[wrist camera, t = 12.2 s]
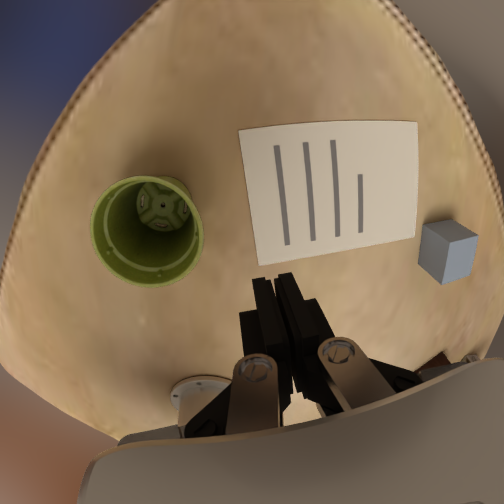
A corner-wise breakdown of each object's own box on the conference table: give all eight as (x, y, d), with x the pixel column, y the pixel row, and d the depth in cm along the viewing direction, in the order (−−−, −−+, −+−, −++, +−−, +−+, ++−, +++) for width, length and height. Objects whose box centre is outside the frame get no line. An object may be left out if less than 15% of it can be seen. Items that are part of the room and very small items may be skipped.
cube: (445, 255, 35) (470, 275, 30) (417, 263, 35) (441, 285, 30) (451, 219, 33) (478, 235, 27) (422, 224, 33) (449, 242, 27)
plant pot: (202, 250, 31) (197, 295, 23) (121, 240, 29) (93, 280, 22) (214, 166, 27) (211, 183, 19) (125, 157, 26) (89, 171, 18)
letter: (413, 236, 33) (414, 237, 33) (258, 265, 32) (258, 266, 32) (415, 121, 26) (417, 122, 26) (238, 130, 26) (238, 130, 26)
